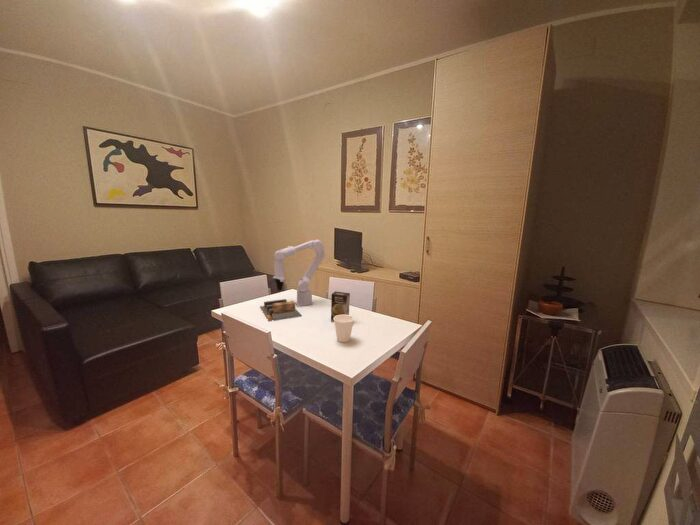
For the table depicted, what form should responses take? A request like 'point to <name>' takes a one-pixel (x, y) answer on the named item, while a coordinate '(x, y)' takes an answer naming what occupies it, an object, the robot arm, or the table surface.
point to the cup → (343, 327)
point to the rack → (271, 316)
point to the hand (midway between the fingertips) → (279, 290)
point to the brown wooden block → (283, 306)
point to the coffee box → (339, 304)
